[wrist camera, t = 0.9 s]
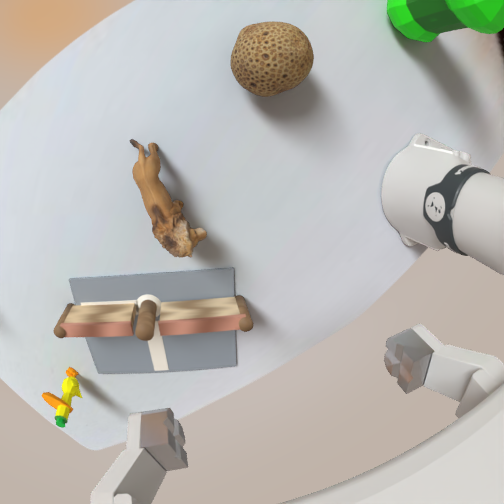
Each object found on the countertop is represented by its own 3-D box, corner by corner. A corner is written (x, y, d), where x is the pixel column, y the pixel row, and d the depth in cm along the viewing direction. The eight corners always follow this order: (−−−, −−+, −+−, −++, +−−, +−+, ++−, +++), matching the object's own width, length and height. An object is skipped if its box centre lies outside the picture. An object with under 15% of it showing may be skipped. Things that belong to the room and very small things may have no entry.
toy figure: (52, 366, 43) (33, 415, 32) (59, 355, 43) (39, 405, 32) (83, 385, 46) (70, 436, 35) (91, 376, 45) (78, 428, 34)
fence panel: (162, 312, 43) (160, 339, 37) (160, 301, 42) (157, 327, 36) (244, 305, 45) (253, 331, 39) (244, 294, 44) (253, 319, 38)
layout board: (233, 267, 43) (233, 269, 43) (236, 364, 50) (236, 366, 49) (69, 278, 39) (68, 280, 38) (98, 372, 45) (98, 373, 45)
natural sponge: (276, 112, 37) (304, 106, 27) (212, 82, 34) (221, 65, 25) (304, 56, 34) (337, 37, 25) (243, 26, 31) (261, -4, 22)
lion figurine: (208, 224, 40) (213, 248, 32) (174, 245, 40) (171, 274, 32) (148, 128, 34) (136, 126, 26) (113, 152, 34) (92, 157, 26)
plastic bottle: (363, 6, 32) (487, -46, 9) (397, -15, 31) (509, -56, 8) (403, 57, 36) (537, 40, 13) (433, 31, 35) (550, 14, 12)
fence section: (155, 297, 42) (152, 325, 36) (158, 311, 43) (155, 340, 37) (64, 301, 40) (49, 327, 33) (69, 315, 41) (55, 342, 34)
